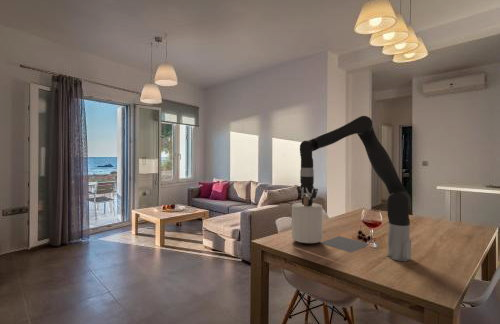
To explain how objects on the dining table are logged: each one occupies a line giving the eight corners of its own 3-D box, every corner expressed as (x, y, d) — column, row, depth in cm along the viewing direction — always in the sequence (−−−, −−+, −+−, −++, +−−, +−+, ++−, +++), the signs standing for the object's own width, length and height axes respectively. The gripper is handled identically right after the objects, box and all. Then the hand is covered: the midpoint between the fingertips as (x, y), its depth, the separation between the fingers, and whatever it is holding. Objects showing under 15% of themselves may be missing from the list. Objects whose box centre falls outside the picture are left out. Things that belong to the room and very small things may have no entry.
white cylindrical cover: (328, 238, 157) (328, 197, 156) (309, 245, 146) (309, 200, 145) (305, 232, 170) (304, 193, 169) (285, 237, 159) (285, 196, 158)
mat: (370, 245, 155) (370, 244, 155) (351, 253, 142) (351, 252, 142) (339, 236, 170) (339, 236, 170) (319, 243, 158) (319, 242, 157)
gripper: (321, 175, 154) (321, 206, 154) (301, 174, 165) (301, 202, 165) (312, 176, 149) (312, 208, 150) (293, 175, 160) (293, 204, 161)
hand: (307, 205), depth 157 cm, fingers closed on white cylindrical cover, 4 cm apart
